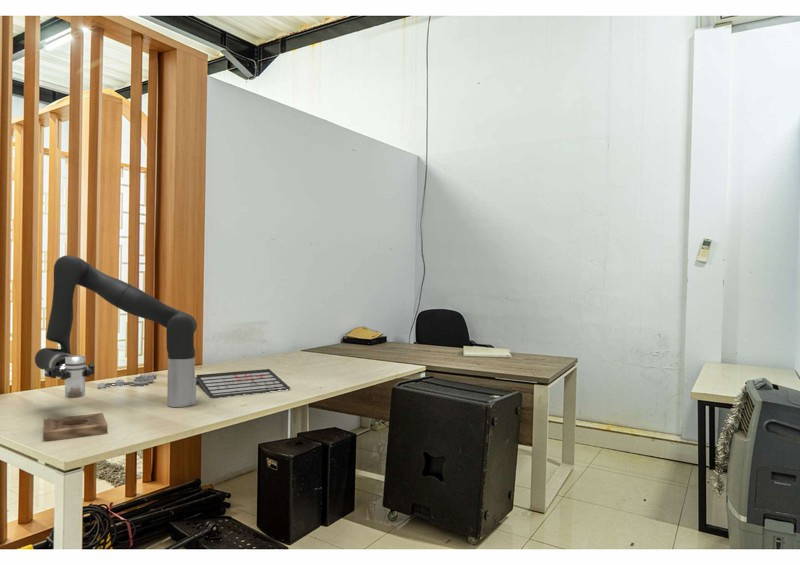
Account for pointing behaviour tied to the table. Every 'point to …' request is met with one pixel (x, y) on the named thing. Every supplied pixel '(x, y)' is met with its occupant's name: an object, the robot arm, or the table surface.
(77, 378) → the salt shaker
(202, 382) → the shutter
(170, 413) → the table surface
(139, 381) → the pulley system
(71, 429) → the ring block
